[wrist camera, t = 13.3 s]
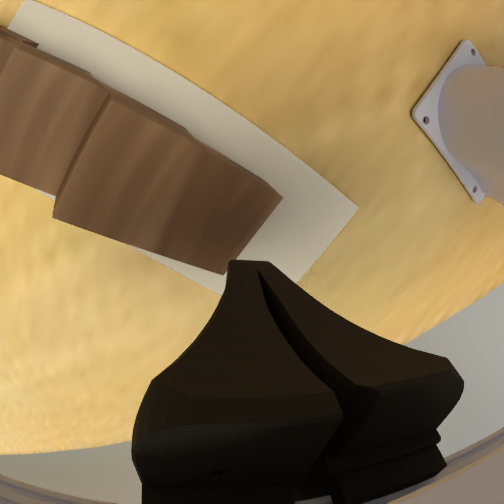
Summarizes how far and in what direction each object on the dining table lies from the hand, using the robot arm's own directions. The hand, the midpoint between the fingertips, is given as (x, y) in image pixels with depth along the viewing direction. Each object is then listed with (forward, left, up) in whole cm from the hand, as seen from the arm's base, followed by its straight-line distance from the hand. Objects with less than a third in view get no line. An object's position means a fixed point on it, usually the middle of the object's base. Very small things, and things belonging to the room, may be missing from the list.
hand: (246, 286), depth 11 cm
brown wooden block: (+4, 0, -6) cm, 7 cm away
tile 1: (-1, 0, -6) cm, 6 cm away
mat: (+5, 0, -8) cm, 9 cm away
